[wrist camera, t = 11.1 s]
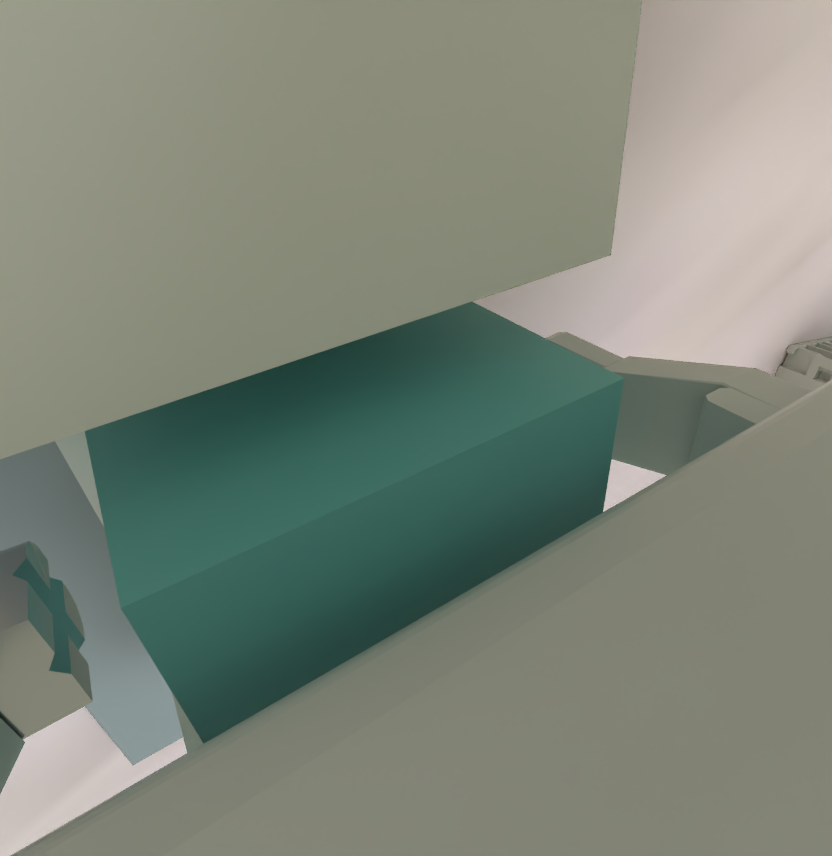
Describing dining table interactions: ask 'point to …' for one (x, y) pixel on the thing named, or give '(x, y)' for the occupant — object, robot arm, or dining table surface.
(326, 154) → the mounting panel
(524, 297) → the dining table surface
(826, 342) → the circuit breaker
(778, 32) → the dining table surface
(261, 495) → the block
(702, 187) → the dining table surface
